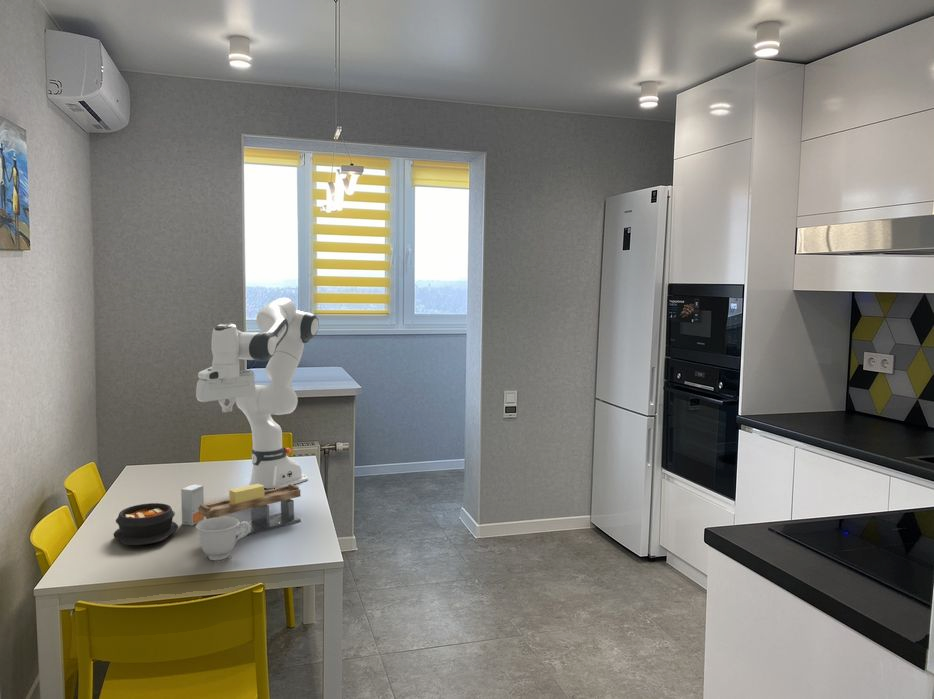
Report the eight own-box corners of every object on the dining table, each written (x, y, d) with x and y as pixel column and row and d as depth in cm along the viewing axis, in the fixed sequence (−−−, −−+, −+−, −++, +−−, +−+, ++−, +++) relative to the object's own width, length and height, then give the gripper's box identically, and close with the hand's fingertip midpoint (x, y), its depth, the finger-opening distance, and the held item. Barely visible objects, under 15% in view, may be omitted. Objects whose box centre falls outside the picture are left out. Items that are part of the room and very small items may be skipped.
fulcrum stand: (285, 514, 246) (284, 491, 245) (300, 521, 239) (300, 498, 238) (200, 536, 225) (199, 511, 224) (215, 544, 218) (214, 519, 217)
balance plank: (289, 491, 245) (289, 483, 245) (300, 496, 240) (300, 487, 240) (198, 513, 223) (198, 504, 222) (208, 518, 218) (208, 509, 217)
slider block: (258, 496, 235) (258, 483, 234) (264, 499, 232) (264, 485, 231) (229, 503, 228) (229, 489, 227) (235, 506, 225) (235, 492, 224)
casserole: (177, 546, 217) (176, 519, 216) (109, 554, 210) (108, 527, 209) (179, 519, 240) (178, 495, 239) (117, 526, 234) (116, 501, 233)
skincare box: (192, 526, 234) (190, 490, 233) (181, 524, 236) (180, 488, 235) (204, 520, 240) (203, 485, 239) (194, 518, 241) (193, 483, 240)
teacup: (250, 561, 206) (249, 527, 205) (195, 566, 202) (194, 532, 201) (250, 545, 218) (249, 513, 217) (198, 551, 213) (197, 518, 212)
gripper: (249, 368, 253) (250, 406, 255) (193, 373, 239) (194, 414, 241) (258, 369, 249) (259, 409, 250) (201, 375, 235) (202, 417, 236)
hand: (227, 411), depth 245 cm, fingers closed
